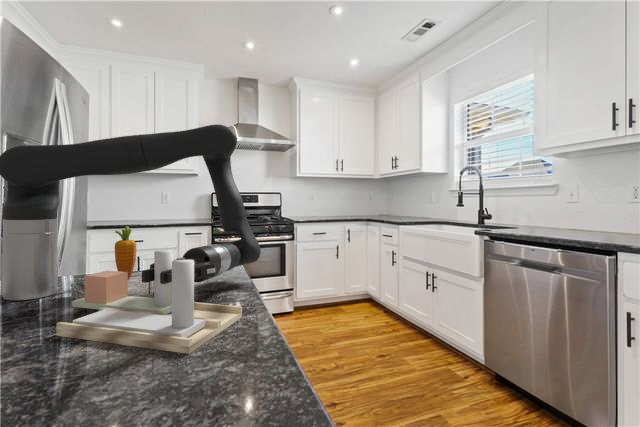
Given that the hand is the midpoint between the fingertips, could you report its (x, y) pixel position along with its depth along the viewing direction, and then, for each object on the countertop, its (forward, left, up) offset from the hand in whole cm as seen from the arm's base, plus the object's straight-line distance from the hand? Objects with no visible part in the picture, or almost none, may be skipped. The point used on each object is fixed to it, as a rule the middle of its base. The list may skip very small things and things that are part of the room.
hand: (152, 277), depth 58 cm
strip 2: (-8, +3, -7) cm, 11 cm away
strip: (+2, -5, -7) cm, 9 cm away
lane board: (+2, -1, -8) cm, 8 cm away
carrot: (-28, +23, -8) cm, 37 cm away
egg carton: (-24, +9, -9) cm, 27 cm away
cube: (-13, +3, -6) cm, 14 cm away
